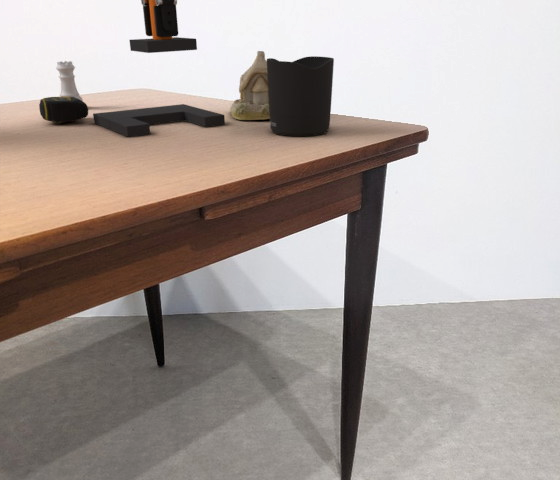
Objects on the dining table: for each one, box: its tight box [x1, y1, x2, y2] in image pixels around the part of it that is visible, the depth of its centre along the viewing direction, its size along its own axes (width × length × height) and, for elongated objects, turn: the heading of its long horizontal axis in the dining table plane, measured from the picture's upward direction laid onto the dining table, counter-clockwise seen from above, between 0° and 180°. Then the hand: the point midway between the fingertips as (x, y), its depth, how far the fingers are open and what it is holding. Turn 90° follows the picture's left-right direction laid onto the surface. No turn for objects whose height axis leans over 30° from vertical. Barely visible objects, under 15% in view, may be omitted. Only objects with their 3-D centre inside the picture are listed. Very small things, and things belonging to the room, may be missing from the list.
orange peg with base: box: [129, 0, 198, 54], centre depth 86 cm, size 8×6×8 cm
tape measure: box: [38, 96, 89, 125], centre depth 97 cm, size 7×7×4 cm
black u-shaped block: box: [92, 103, 226, 138], centre depth 95 cm, size 16×14×2 cm
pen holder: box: [266, 55, 335, 137], centre depth 87 cm, size 9×9×10 cm
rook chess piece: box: [55, 60, 84, 102], centre depth 109 cm, size 4×4×8 cm
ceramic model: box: [229, 50, 270, 121], centre depth 101 cm, size 14×11×10 cm
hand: (162, 34), depth 87 cm, fingers closed on orange peg with base, 2 cm apart
